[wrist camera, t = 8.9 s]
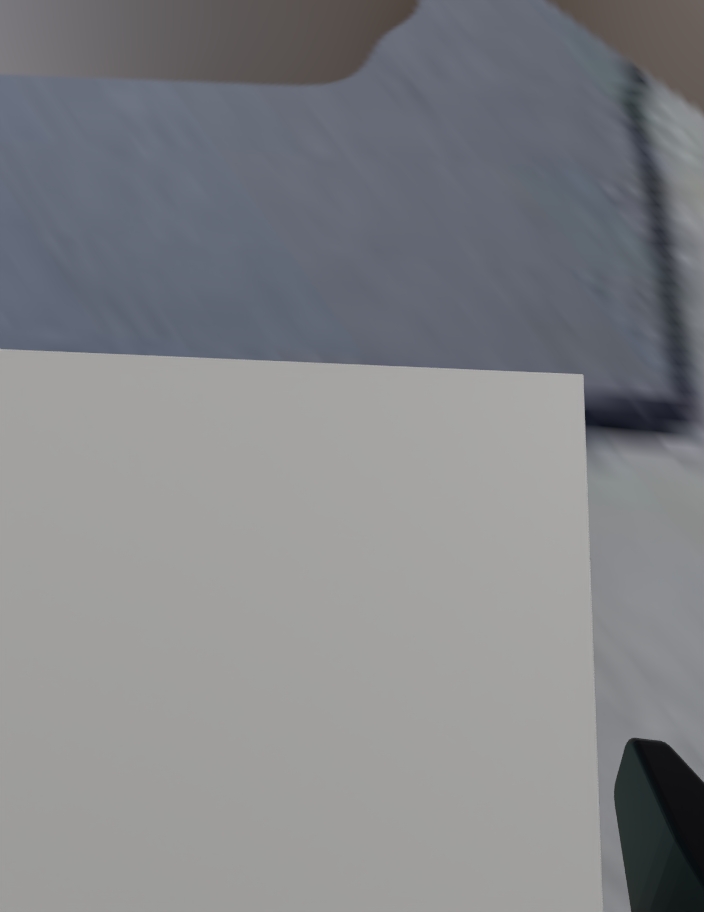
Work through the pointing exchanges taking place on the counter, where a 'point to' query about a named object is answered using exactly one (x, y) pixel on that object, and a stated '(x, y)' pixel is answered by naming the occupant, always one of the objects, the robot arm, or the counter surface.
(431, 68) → the counter surface
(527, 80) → the counter surface
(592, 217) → the counter surface
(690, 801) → the robot arm
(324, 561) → the tea tin
